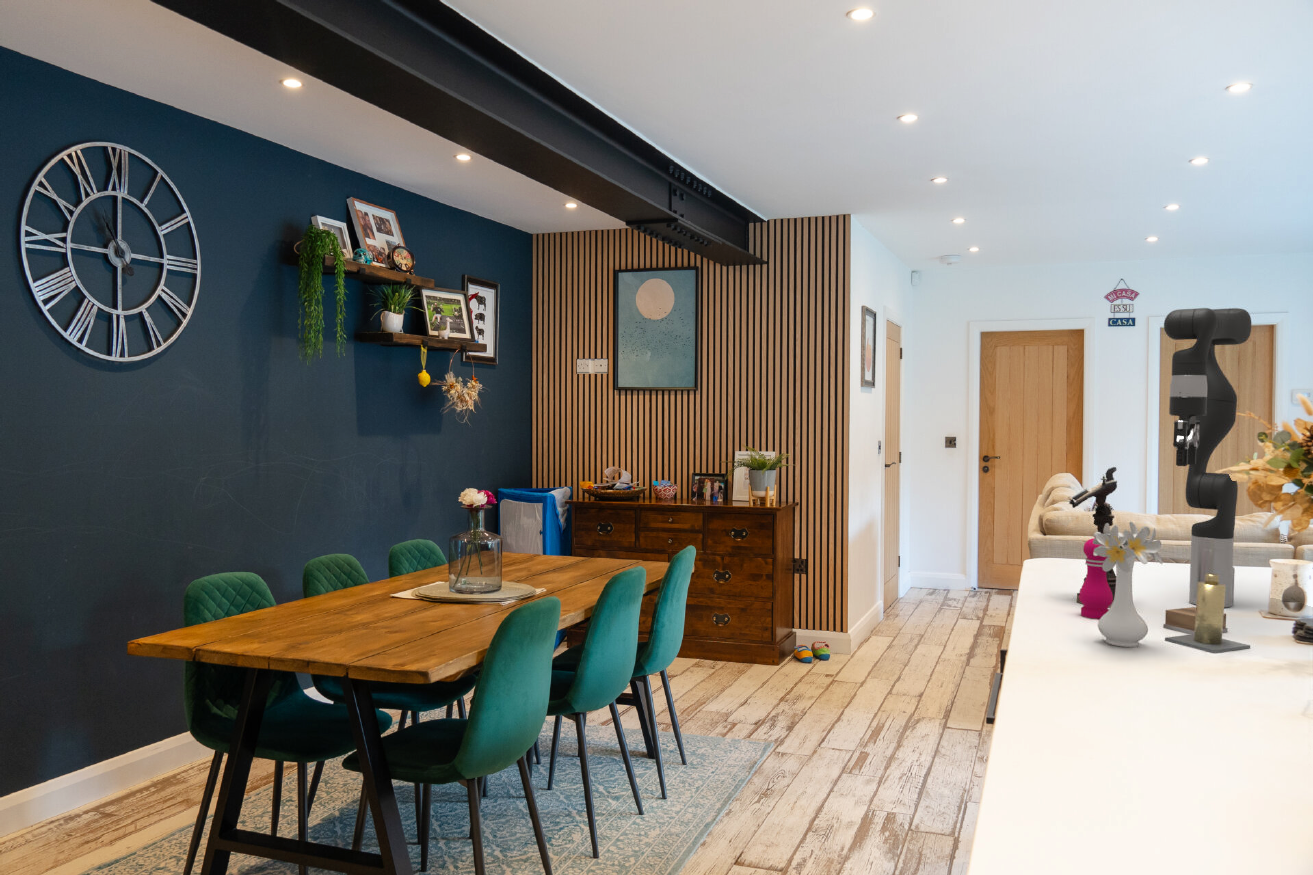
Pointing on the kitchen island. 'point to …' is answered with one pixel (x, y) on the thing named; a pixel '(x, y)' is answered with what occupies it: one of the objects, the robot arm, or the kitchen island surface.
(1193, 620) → the plane block
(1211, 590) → the gold knobbed bottle
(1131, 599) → the flower vase
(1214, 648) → the slate mat
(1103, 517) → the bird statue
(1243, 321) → the robot arm
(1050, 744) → the kitchen island surface
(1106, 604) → the pepper mill
